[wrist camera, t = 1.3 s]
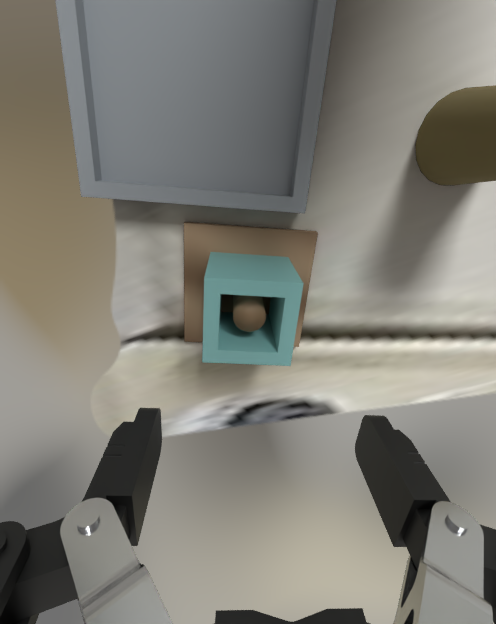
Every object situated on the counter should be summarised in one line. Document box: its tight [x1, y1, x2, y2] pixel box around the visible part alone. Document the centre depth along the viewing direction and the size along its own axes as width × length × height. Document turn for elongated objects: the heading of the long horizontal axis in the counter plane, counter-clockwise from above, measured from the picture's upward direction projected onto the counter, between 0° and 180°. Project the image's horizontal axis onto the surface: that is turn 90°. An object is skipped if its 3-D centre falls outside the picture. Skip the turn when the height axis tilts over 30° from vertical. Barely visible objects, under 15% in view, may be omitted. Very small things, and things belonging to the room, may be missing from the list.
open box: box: [202, 252, 304, 366], centre depth 24 cm, size 8×6×6 cm
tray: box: [56, 0, 337, 213], centre depth 20 cm, size 15×15×2 cm
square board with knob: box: [184, 222, 318, 347], centre depth 24 cm, size 10×10×6 cm
